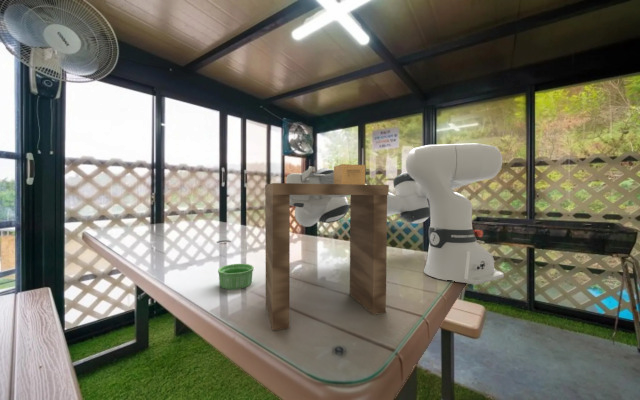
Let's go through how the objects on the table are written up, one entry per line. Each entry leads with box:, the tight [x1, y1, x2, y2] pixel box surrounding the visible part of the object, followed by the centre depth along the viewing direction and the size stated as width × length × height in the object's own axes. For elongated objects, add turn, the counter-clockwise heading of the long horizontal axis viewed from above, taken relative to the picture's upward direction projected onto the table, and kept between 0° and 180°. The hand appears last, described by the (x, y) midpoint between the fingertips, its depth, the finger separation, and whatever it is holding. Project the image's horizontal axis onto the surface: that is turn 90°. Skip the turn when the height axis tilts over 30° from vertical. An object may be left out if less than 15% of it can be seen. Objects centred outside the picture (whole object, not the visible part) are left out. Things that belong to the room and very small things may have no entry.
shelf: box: [264, 182, 390, 332], centre depth 54 cm, size 23×12×26 cm, turn 108°
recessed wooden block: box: [320, 163, 366, 185], centre depth 61 cm, size 5×20×4 cm, turn 15°
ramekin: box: [217, 263, 254, 290], centre depth 69 cm, size 9×9×4 cm
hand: (330, 169), depth 66 cm, fingers open, 8 cm apart
